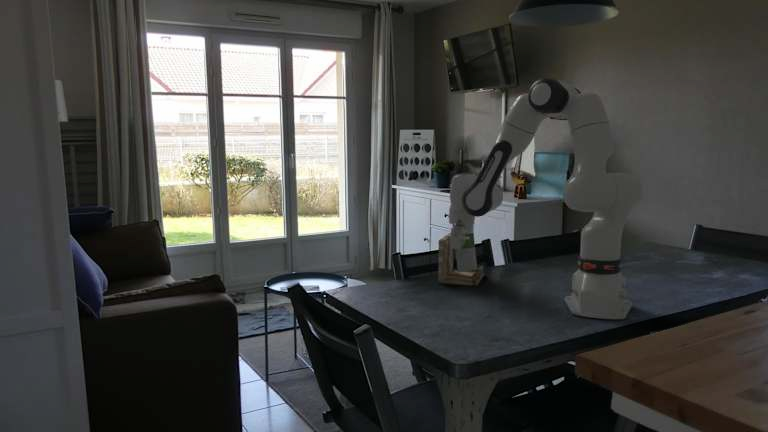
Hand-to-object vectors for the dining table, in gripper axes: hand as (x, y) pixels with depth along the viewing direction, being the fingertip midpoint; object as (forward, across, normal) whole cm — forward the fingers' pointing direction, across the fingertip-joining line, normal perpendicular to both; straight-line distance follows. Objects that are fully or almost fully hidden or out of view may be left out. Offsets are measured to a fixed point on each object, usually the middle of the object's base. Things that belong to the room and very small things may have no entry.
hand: (460, 256), depth 200 cm
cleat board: (+8, 0, -1) cm, 8 cm away
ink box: (+5, 0, -3) cm, 6 cm away
